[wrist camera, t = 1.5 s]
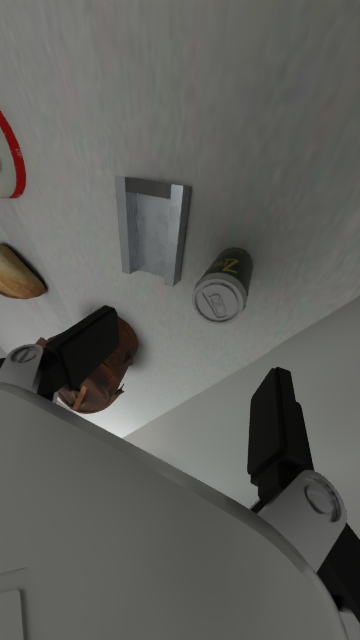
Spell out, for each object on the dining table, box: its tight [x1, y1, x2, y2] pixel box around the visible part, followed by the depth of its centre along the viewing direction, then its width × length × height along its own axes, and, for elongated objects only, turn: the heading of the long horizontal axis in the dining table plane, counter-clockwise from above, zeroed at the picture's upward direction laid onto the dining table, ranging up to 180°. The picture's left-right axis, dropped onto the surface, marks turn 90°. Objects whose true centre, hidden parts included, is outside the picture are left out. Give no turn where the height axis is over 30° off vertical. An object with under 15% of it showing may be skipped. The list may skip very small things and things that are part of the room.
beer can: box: [192, 248, 253, 325], centre depth 22 cm, size 5×5×12 cm
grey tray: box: [115, 176, 191, 287], centre depth 27 cm, size 13×10×3 cm
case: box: [36, 317, 138, 414], centre depth 40 cm, size 18×20×18 cm
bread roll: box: [0, 244, 45, 299], centre depth 43 cm, size 10×15×8 cm, turn 45°
